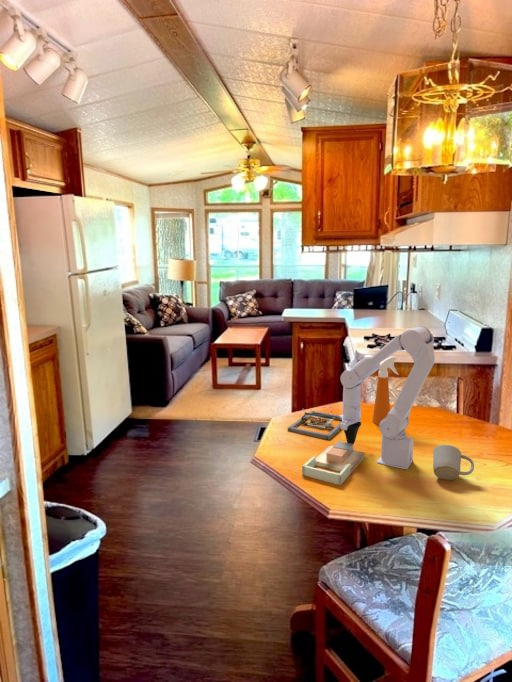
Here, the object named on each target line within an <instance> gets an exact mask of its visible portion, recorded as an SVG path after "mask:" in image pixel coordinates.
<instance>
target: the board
mask: <svg viewBox="0 0 512 682" xmlns="http://www.w3.org/2000/svg"><path fill="white" fill-rule="evenodd" d="M333 446H334V445H331V444H330V445H329V446H327V447H326V448H325V449H324V450H323V451H322V452H321V453H320V454H319V455H318V456H316V466H317V467H320V468H325V469H329V470H333V471H336V472H339V473H340V472H341V471H342V470H343V469H344V468H345V466H346V465H347V464H350V475H351V474H352V472H354V470H355V469H356V468H357V467H358V466H359V465H360V463H361V462H362V461H363V460H364V459H365V456H366V452H364V451H360V450H355V449H353V452H352V453H351V454H350V456H349V457H347V459H346V460H345V461H344V462H343V463H342V464H339V463H335V462H331V461H326V453H327V452H328V451H329V450H330V449H331V448H332V447H333ZM316 466H315V467H316Z"/></svg>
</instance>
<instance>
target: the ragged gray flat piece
mask: <svg viewBox="0 0 512 682" xmlns="http://www.w3.org/2000/svg"><path fill="white" fill-rule="evenodd" d="M317 409H319V407H317ZM324 409H325V408H323V411H324ZM326 409H327V410H326V411H329V409H333V408H332V406H328V408H326ZM301 411H304V408H302V410H301ZM330 412H331V413H332V412H333V410H331V411H330ZM305 415H306V416H307V417H308V418H306V417H305ZM304 417H305V418H304ZM309 417H310V418H309ZM334 418H335V417H327V416H323V415H316V414H311V413H309V412H306V411H304V415H303V416H301V417H300V419H301V421H302V420H303V421H304V420H306V421H304V424H307V425H306V426H309V427H314V428H321V429H323V428H324V427H325V428H324V429H323V430H328V429H332V426H333V424H332V423H333V421H335V419H334ZM307 421H311V422H310V423H308V422H307ZM312 422H315V423H312ZM317 423H320V424H317ZM321 423H322V424H321ZM313 424H314V425H313ZM327 428H328V429H327Z"/></svg>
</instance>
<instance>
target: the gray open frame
mask: <svg viewBox="0 0 512 682" xmlns="http://www.w3.org/2000/svg"><path fill="white" fill-rule="evenodd" d="M308 413H311V414H316V415H323V416H327V417H335V418H334V420H335V419H338V420H337V421H340V420H342V418H339V416H340V415H341V414H340V415H339V414H338V415H337V414H333V413H328V412H322V411H316V410H310V411H309V412H308ZM305 417H306V418H308V417H307V416H306V415H305ZM305 417H304V418H305ZM302 422H303V420H302V421H301V418H299V419H297V420H296V421H295V422H294V423H292V424H291V425H289V426H288V427H287V431H288V430H290V431H289V432H291V431H294V432H293V433H296V432H299V433H298V434H300V433H303V434H302V435H305V434H307V435H306V436H309V435H311V437H314V436H315V438H318V437H319V439H323V438H324V440H327V439H328V440H329V439H330V438H331V439H333V437H335V436H336V435H337V434H338V433H339V432H340V431H341V430H342V429H341V423H342V421H340V422H339V423H338V424H337V425H336V426H335V427H334V428H333V429H332V430H330V431H329V432H328V433H323V432H317V431H313V430H307V429H303V428H298V426H297V425H299V424H300V423H302ZM303 423H304V422H303ZM303 423H302V424H303ZM300 425H301V424H300ZM300 425H299V426H300ZM296 426H297V427H296ZM295 427H296V428H295ZM340 429H341V430H340ZM339 430H340V431H339ZM338 431H339V432H338ZM337 432H338V433H337ZM331 439H330V440H331ZM330 440H329V441H330Z"/></svg>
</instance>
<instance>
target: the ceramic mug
mask: <svg viewBox="0 0 512 682" xmlns="http://www.w3.org/2000/svg"><path fill="white" fill-rule="evenodd" d="M432 454H433V455H432V456H433V457H432V459H433V460H432V462H433V464H432V465H433V466H432V467H433V468H432V469H433V473H434V475H435V476H436V478H438V479H440V480H445V481H453V480H456V479H458V478H459V476H468V475H471V474H472V473H473V471H474V469H475V462H474V460H473V459H471V458H470V457H469V456H466V455H464V454H462V452H461V450H460V449H459V448H458V447H456V446H453V445H450V444H439V445H437V446H435V447H434V448H433V452H432ZM462 459H464V460H465V461H468V462H469V463H470V465H471V466H470V468H469V470H468V471H461V464H462V463H461V462H462Z"/></svg>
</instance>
